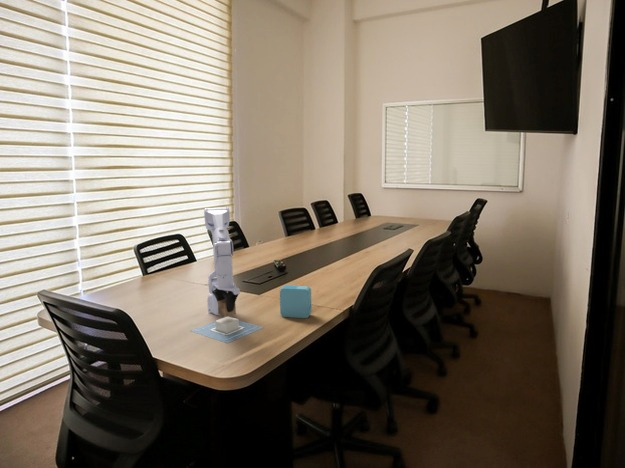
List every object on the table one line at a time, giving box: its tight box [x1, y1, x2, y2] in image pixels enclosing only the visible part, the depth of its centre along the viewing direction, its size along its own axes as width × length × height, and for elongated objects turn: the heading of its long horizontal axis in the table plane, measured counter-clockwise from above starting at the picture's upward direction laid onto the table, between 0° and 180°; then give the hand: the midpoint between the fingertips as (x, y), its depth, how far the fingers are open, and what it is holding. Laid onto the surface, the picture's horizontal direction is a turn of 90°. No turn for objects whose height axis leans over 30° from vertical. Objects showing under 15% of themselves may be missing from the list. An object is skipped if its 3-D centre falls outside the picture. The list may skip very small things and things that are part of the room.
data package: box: [279, 285, 312, 319], centre depth 180 cm, size 12×4×12 cm, turn 78°
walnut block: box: [218, 299, 237, 318], centre depth 163 cm, size 4×4×5 cm
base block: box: [214, 316, 240, 333], centre depth 164 cm, size 6×6×4 cm
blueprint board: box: [190, 320, 264, 344], centre depth 165 cm, size 20×18×1 cm
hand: (226, 309), depth 163 cm, fingers closed on walnut block, 4 cm apart
